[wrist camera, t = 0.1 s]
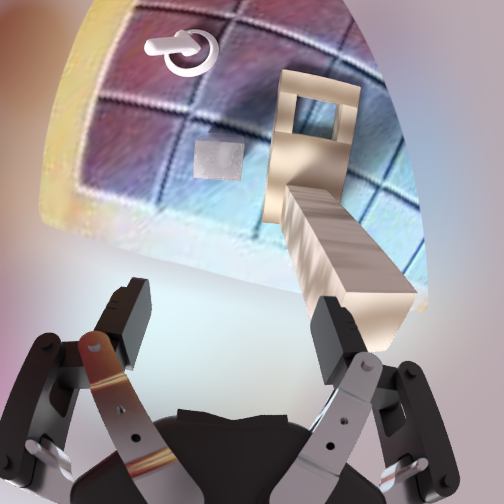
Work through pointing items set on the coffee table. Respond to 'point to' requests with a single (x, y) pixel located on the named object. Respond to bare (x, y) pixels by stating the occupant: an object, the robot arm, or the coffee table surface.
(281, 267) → the coffee table surface
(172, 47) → the white vr controller
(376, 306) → the beam with square loop
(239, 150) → the smooth gray rectangular block
